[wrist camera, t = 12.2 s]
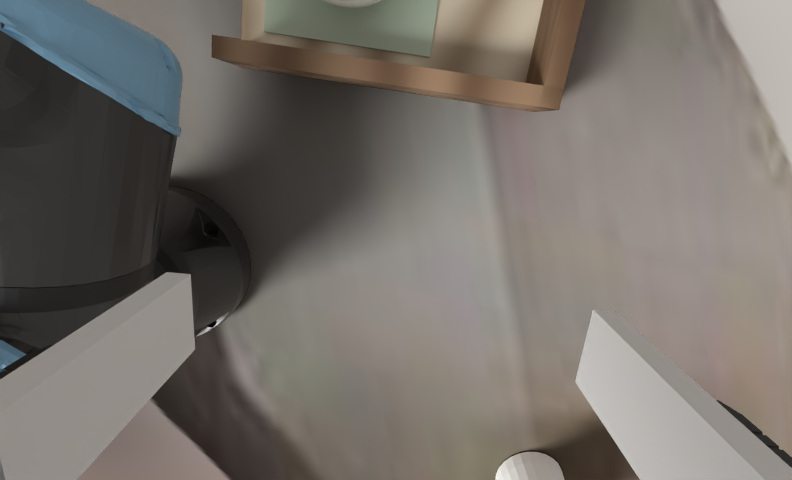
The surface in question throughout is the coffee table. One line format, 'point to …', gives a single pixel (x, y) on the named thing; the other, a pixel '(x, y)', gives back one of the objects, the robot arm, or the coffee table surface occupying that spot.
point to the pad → (357, 23)
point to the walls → (533, 95)
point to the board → (441, 38)
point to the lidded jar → (352, 3)
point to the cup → (530, 467)
